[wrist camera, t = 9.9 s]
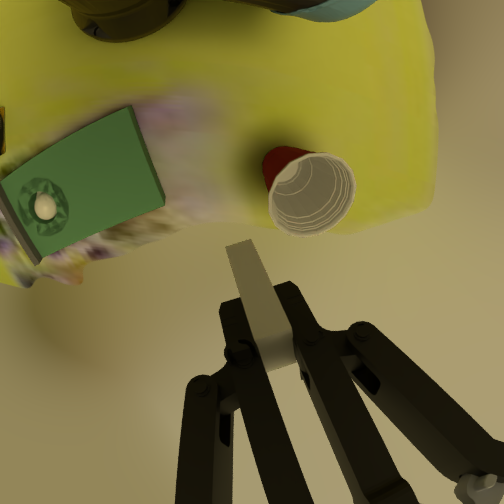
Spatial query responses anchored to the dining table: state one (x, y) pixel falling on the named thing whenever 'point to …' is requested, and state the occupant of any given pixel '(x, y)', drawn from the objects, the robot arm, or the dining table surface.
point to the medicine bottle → (2, 132)
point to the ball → (45, 206)
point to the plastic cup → (307, 190)
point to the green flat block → (82, 185)
